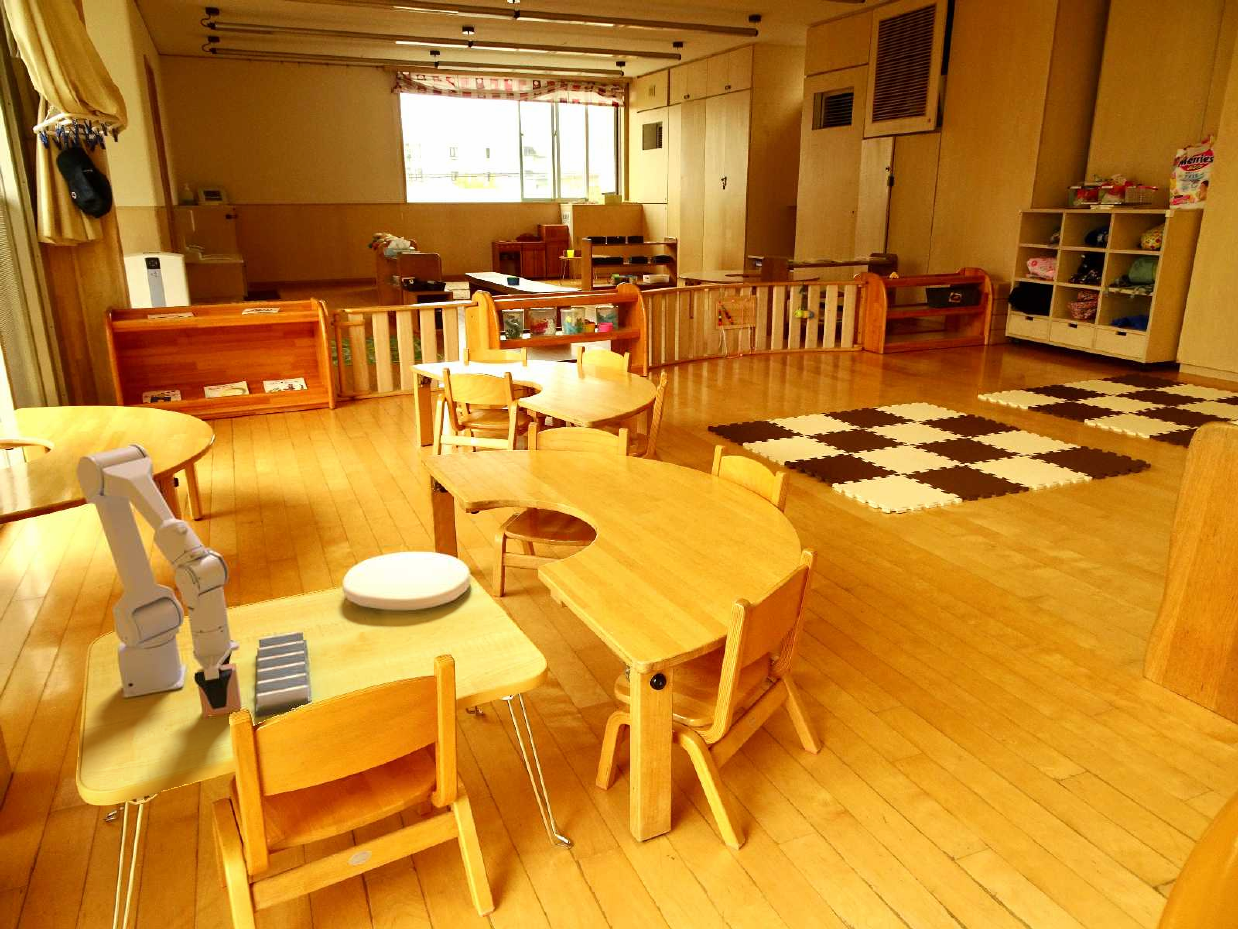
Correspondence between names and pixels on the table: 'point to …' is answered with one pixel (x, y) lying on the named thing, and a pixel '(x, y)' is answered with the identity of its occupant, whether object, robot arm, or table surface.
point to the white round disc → (406, 581)
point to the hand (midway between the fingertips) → (220, 695)
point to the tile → (232, 694)
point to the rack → (282, 673)
